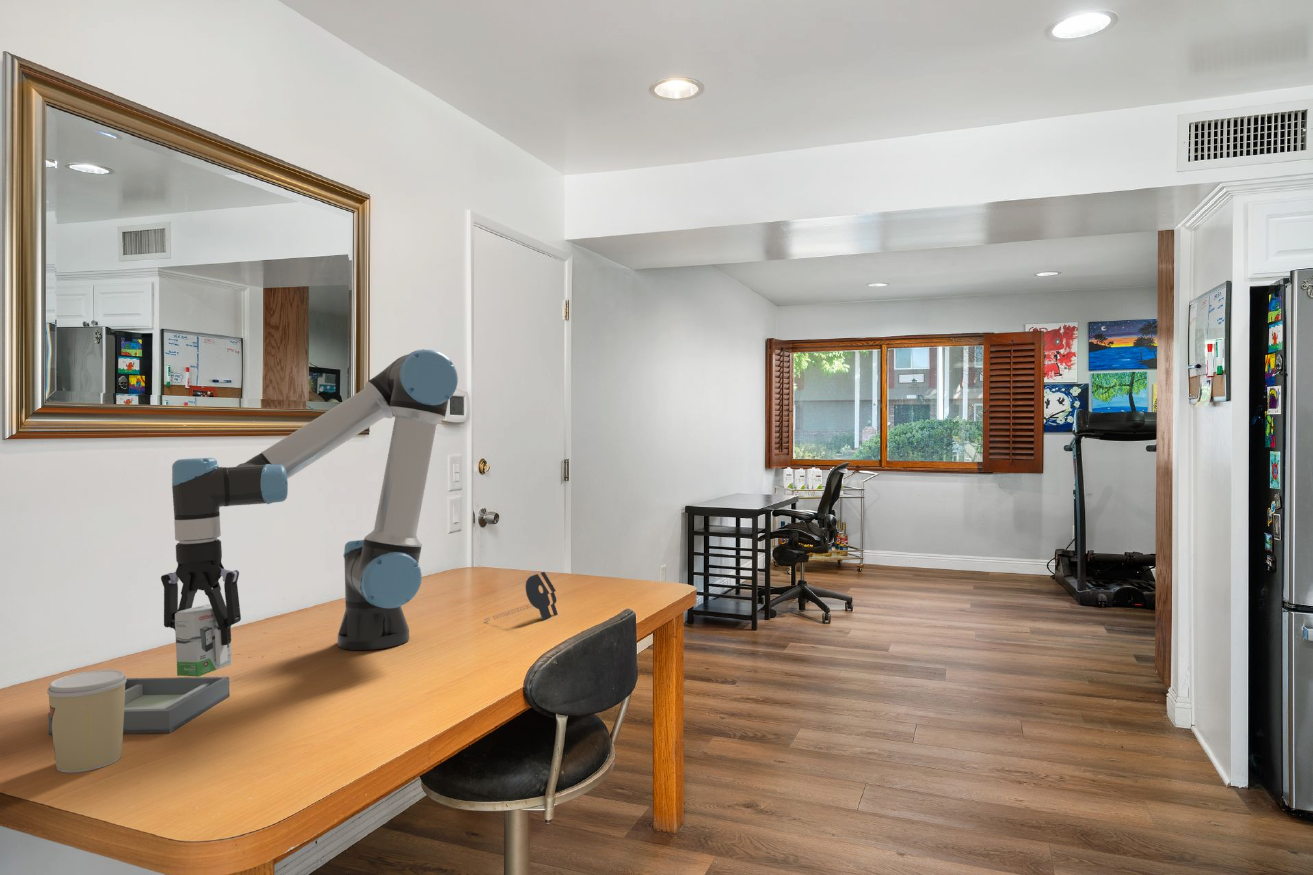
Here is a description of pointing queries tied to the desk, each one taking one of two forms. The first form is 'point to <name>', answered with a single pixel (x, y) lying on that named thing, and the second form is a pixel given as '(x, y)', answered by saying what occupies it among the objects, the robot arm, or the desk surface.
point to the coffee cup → (87, 719)
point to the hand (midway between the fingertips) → (204, 662)
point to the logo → (539, 596)
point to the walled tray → (167, 702)
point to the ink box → (197, 641)
